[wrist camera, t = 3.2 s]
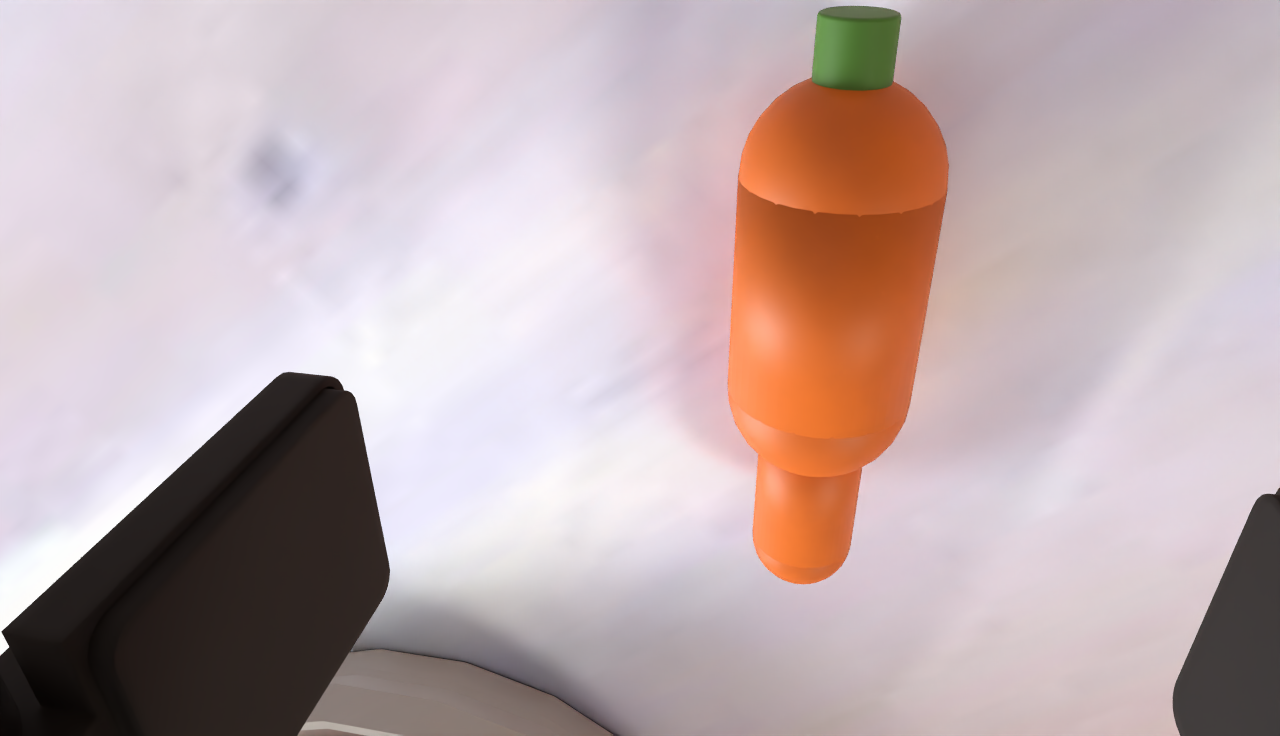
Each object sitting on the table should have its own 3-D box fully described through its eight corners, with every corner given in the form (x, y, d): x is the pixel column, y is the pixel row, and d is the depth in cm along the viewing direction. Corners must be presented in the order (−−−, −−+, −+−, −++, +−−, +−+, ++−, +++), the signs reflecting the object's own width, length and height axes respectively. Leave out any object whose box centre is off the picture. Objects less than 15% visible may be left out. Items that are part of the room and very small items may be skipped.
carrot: (759, -8, 13) (732, 26, 11) (967, -2, 13) (989, 35, 10) (729, 509, 19) (706, 614, 16) (878, 530, 18) (878, 643, 15)
